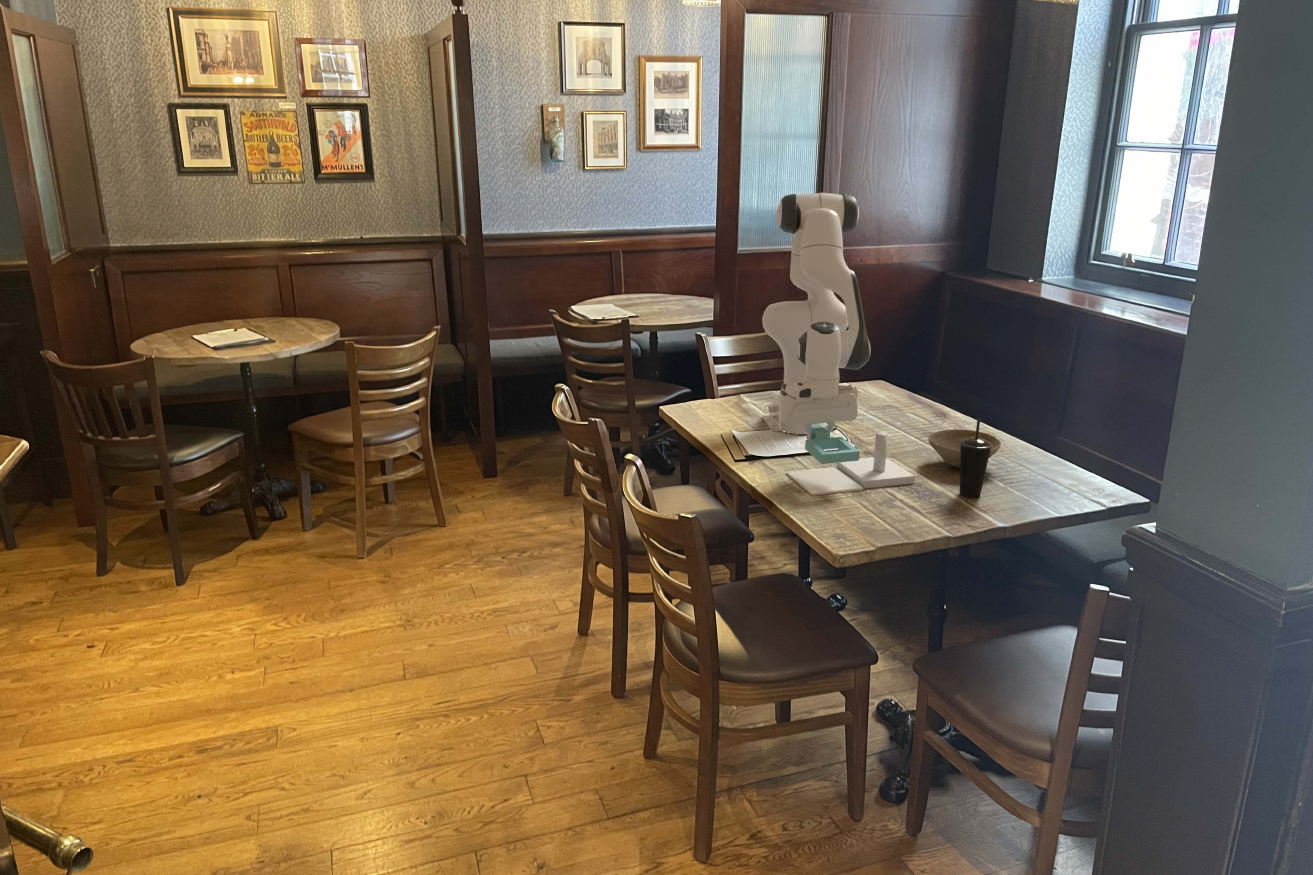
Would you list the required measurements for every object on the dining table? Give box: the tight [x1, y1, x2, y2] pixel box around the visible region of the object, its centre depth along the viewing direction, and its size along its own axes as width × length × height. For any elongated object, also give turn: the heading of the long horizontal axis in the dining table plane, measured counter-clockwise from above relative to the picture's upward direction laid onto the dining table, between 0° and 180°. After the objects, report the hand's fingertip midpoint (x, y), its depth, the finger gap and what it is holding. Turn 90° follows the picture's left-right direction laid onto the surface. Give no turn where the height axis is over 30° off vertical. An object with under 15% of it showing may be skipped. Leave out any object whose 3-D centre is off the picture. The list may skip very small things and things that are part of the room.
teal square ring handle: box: [804, 424, 861, 465], centre depth 233 cm, size 16×10×4 cm, turn 16°
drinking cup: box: [959, 417, 993, 500], centre depth 225 cm, size 8×8×20 cm
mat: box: [786, 466, 864, 496], centre depth 237 cm, size 16×14×1 cm
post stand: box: [836, 431, 916, 489], centre depth 240 cm, size 16×14×12 cm
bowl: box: [927, 428, 1002, 469], centre depth 247 cm, size 18×18×8 cm
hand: (818, 438), depth 238 cm, fingers closed on teal square ring handle, 3 cm apart
